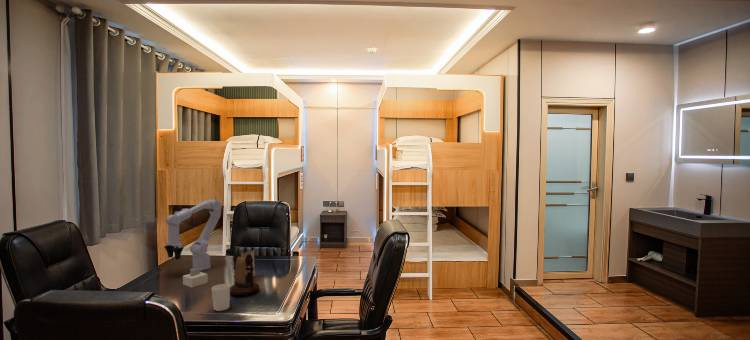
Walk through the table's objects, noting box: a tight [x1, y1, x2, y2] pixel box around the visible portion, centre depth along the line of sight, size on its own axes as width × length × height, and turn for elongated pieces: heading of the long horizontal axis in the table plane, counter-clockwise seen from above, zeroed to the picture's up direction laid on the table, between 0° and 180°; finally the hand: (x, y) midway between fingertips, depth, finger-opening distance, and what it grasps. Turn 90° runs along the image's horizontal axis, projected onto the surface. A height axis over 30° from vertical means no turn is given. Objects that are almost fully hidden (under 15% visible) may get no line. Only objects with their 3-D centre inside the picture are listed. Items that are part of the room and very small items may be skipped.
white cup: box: [211, 283, 231, 312], centre depth 172 cm, size 8×8×10 cm
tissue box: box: [182, 268, 209, 289], centre depth 205 cm, size 9×9×8 cm
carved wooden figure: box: [240, 250, 256, 277], centre depth 211 cm, size 11×7×15 cm, turn 149°
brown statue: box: [230, 252, 260, 298], centre depth 191 cm, size 15×15×20 cm
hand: (174, 258), depth 218 cm, fingers open, 7 cm apart
